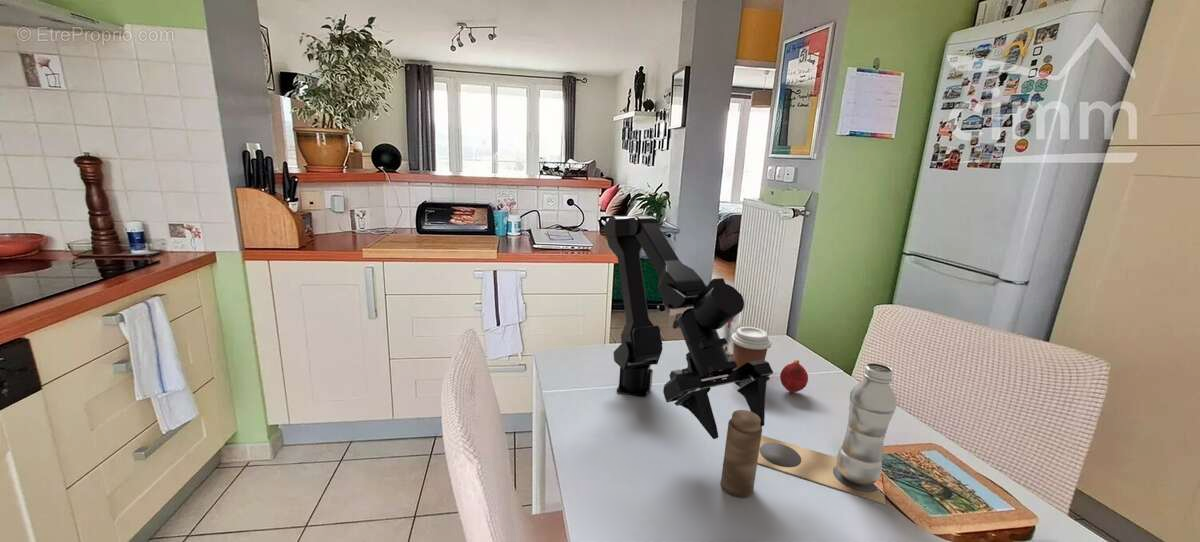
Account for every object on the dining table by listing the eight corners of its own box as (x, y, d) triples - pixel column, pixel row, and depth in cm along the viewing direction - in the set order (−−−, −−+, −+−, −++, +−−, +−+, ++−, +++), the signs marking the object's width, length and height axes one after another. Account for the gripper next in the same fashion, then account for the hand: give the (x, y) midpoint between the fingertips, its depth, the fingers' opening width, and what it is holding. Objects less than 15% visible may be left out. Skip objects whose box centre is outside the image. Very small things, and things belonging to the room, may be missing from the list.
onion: (807, 400, 103) (813, 367, 101) (780, 396, 104) (785, 363, 103) (802, 388, 109) (807, 356, 107) (776, 384, 110) (781, 353, 108)
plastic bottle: (826, 465, 81) (846, 358, 76) (862, 465, 82) (885, 359, 77) (848, 491, 75) (872, 377, 70) (887, 491, 76) (914, 377, 71)
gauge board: (746, 460, 82) (746, 459, 82) (755, 434, 90) (755, 433, 90) (885, 504, 73) (885, 503, 73) (881, 471, 81) (881, 470, 81)
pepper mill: (719, 493, 73) (729, 422, 70) (721, 473, 78) (730, 406, 75) (753, 501, 72) (764, 429, 69) (752, 480, 77) (763, 412, 74)
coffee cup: (773, 387, 109) (780, 339, 106) (736, 388, 107) (742, 339, 104) (754, 369, 117) (761, 324, 114) (720, 370, 116) (725, 325, 113)
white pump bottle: (737, 348, 130) (743, 296, 126) (735, 358, 124) (742, 304, 120) (711, 344, 132) (717, 293, 128) (708, 353, 126) (714, 300, 122)
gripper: (721, 352, 91) (754, 433, 84) (637, 366, 83) (666, 456, 76) (755, 327, 82) (795, 415, 75) (664, 340, 74) (700, 440, 67)
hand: (739, 432), depth 74 cm, fingers open, 9 cm apart
